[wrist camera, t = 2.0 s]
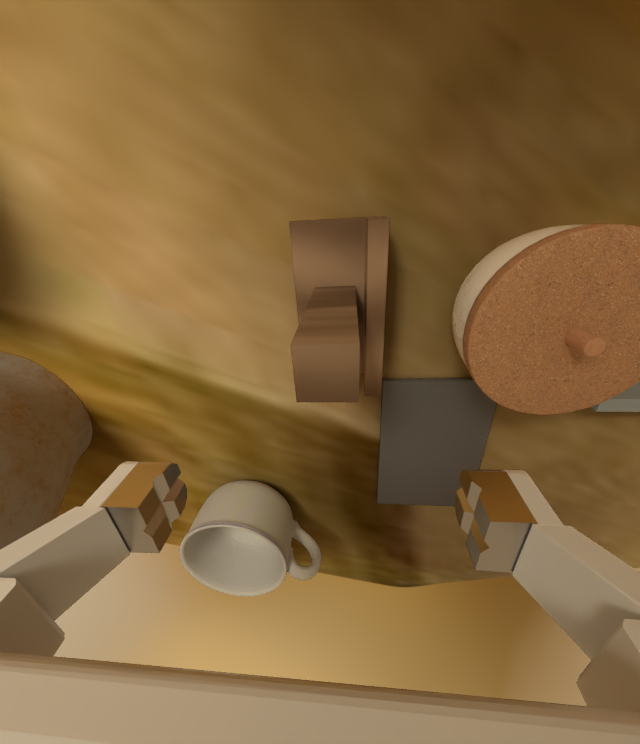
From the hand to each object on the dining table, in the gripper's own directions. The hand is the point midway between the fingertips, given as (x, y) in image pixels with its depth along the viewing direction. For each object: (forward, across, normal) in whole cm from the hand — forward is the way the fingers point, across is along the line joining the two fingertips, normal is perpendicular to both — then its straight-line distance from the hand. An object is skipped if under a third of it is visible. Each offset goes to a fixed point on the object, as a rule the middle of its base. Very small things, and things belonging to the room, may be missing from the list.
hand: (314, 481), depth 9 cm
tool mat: (+18, -9, +14) cm, 25 cm away
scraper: (+18, 0, 0) cm, 18 cm away
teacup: (+18, +9, +24) cm, 31 cm away
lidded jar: (+18, -13, 0) cm, 22 cm away
